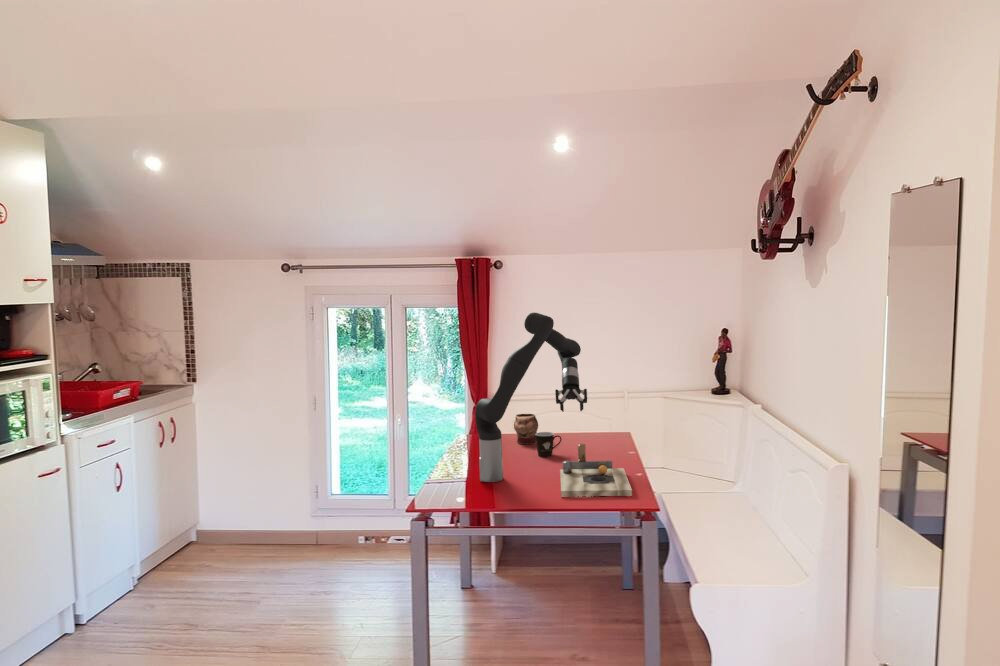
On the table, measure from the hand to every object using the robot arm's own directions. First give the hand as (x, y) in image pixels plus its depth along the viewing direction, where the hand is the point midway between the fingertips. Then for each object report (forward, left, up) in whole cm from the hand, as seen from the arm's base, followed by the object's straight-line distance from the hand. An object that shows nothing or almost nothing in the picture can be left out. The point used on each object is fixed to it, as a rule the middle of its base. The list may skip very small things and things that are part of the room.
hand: (572, 410), depth 284 cm
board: (+7, -27, -24) cm, 37 cm away
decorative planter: (-22, +46, -25) cm, 56 cm away
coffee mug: (-11, +19, -25) cm, 33 cm away
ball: (+11, -20, -20) cm, 31 cm away
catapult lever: (+5, -17, -22) cm, 28 cm away
